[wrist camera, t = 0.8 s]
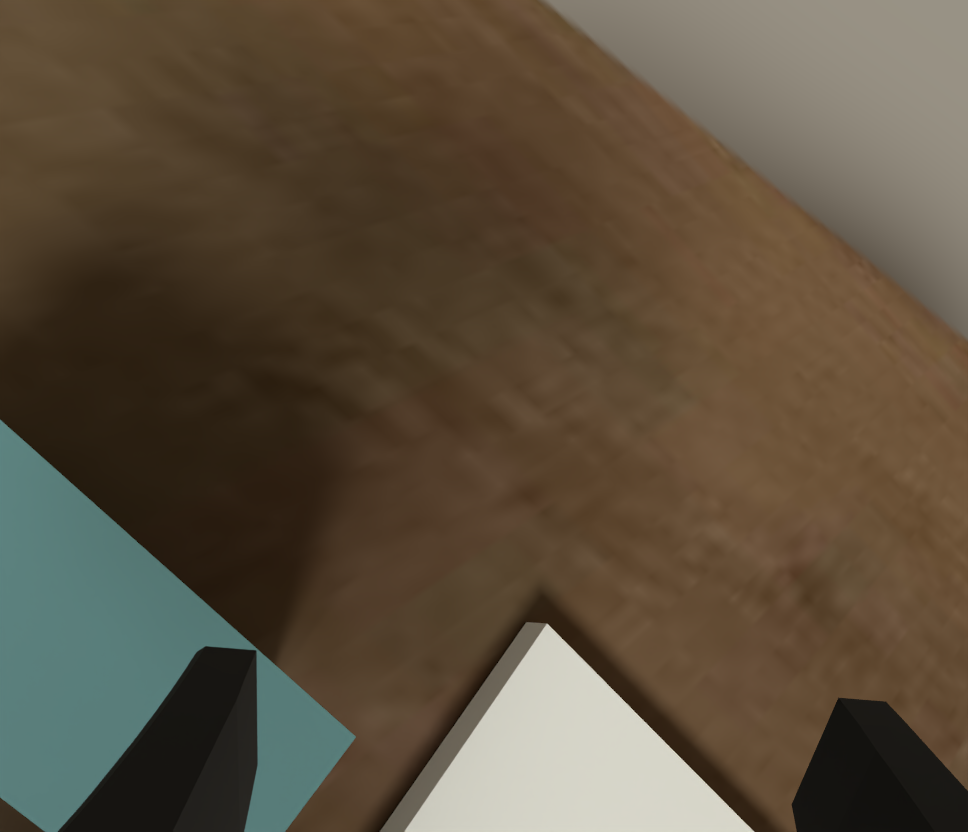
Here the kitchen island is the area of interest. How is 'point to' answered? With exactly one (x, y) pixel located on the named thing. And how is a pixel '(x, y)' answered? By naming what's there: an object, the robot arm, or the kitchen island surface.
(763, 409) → the kitchen island surface
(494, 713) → the shelf board
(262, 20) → the kitchen island surface
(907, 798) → the robot arm
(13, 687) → the small book
